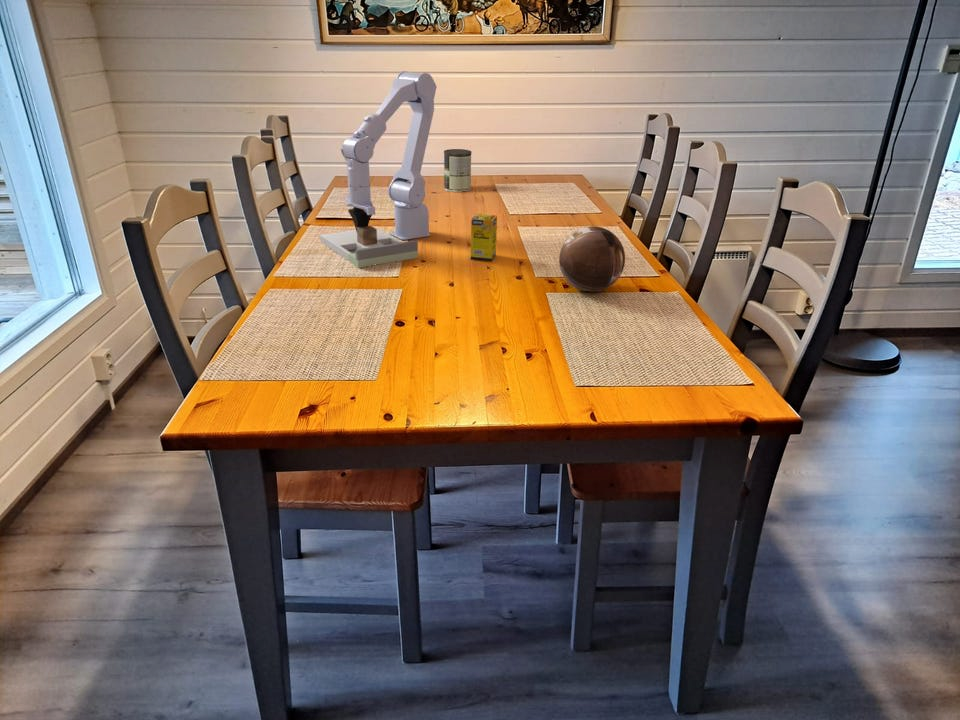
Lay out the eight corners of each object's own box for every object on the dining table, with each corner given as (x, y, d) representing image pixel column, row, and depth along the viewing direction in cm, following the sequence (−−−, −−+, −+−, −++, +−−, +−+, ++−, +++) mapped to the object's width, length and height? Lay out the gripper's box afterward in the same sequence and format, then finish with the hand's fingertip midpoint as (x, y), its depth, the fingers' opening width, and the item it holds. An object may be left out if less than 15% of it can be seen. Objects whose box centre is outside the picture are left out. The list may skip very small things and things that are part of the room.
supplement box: (492, 261, 172) (493, 220, 167) (470, 259, 173) (470, 218, 168) (496, 255, 177) (497, 215, 173) (474, 253, 178) (475, 213, 174)
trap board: (375, 234, 193) (374, 218, 191) (417, 257, 173) (417, 241, 171) (320, 242, 184) (318, 226, 182) (358, 268, 165) (357, 250, 163)
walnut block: (371, 239, 180) (370, 225, 178) (377, 243, 177) (376, 229, 176) (357, 241, 178) (356, 227, 176) (363, 245, 175) (362, 231, 174)
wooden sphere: (545, 283, 158) (550, 222, 152) (598, 276, 164) (605, 216, 157) (577, 305, 146) (584, 239, 139) (633, 296, 152) (642, 233, 145)
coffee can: (438, 189, 249) (438, 151, 242) (455, 185, 256) (455, 148, 250) (459, 193, 244) (460, 154, 237) (476, 189, 251) (477, 151, 245)
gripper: (334, 181, 177) (338, 230, 183) (356, 191, 166) (359, 244, 172) (358, 179, 181) (361, 227, 187) (381, 189, 170) (383, 240, 176)
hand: (362, 235), depth 180 cm, fingers closed
